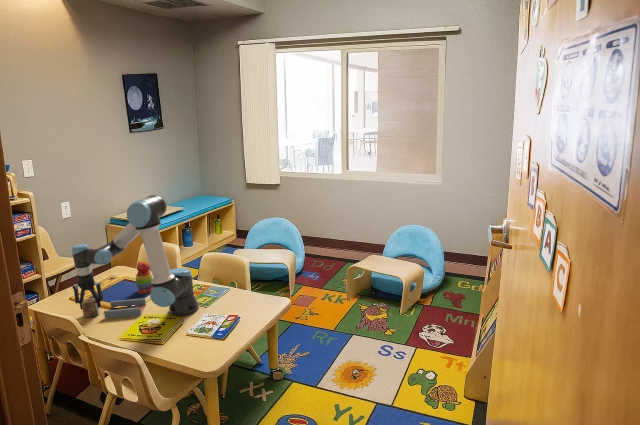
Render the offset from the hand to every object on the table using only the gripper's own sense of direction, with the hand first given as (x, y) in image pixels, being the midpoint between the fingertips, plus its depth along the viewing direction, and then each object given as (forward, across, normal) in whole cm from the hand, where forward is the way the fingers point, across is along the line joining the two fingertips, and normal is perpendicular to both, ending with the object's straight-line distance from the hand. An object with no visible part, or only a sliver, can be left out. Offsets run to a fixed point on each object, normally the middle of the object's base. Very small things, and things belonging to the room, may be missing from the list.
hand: (92, 313), depth 246 cm
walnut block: (0, 0, 0) cm, 0 cm away
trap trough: (+1, -17, 0) cm, 17 cm away
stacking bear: (+1, -22, -26) cm, 34 cm away
